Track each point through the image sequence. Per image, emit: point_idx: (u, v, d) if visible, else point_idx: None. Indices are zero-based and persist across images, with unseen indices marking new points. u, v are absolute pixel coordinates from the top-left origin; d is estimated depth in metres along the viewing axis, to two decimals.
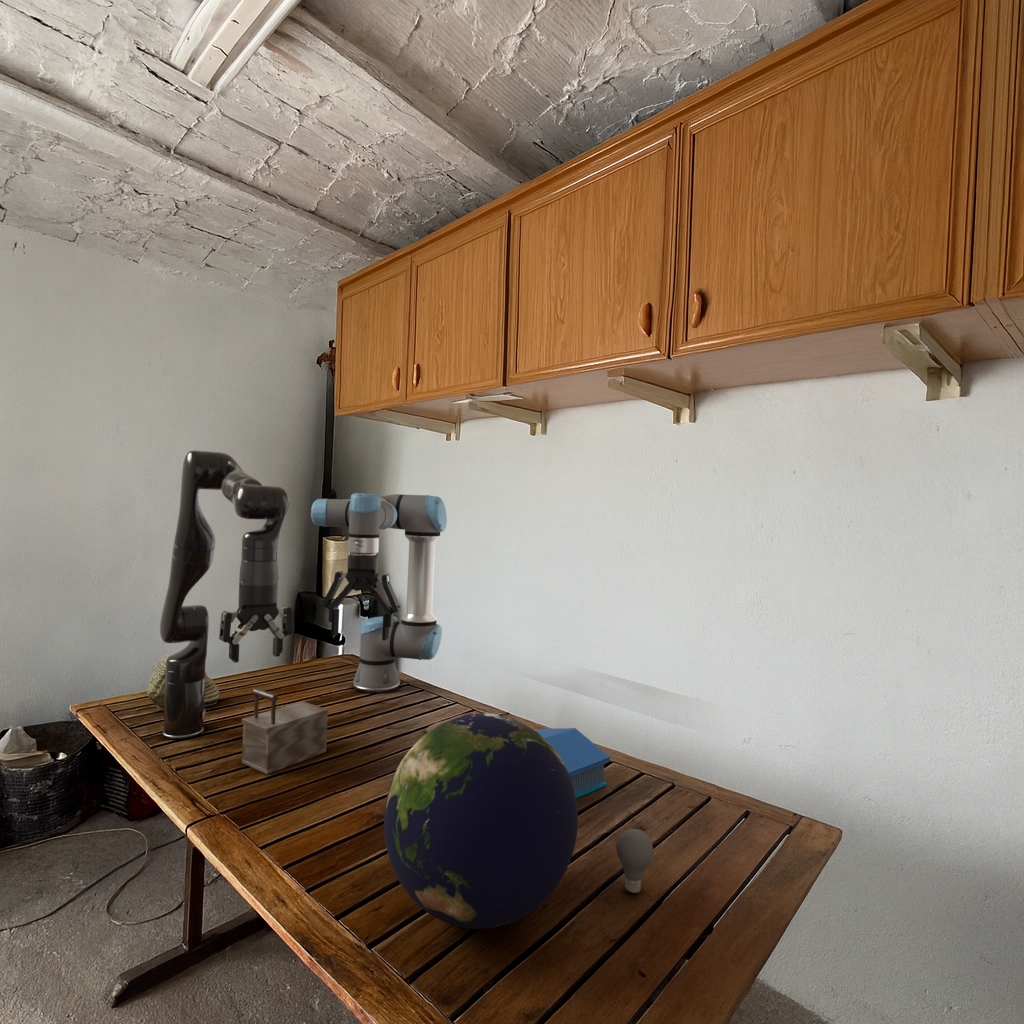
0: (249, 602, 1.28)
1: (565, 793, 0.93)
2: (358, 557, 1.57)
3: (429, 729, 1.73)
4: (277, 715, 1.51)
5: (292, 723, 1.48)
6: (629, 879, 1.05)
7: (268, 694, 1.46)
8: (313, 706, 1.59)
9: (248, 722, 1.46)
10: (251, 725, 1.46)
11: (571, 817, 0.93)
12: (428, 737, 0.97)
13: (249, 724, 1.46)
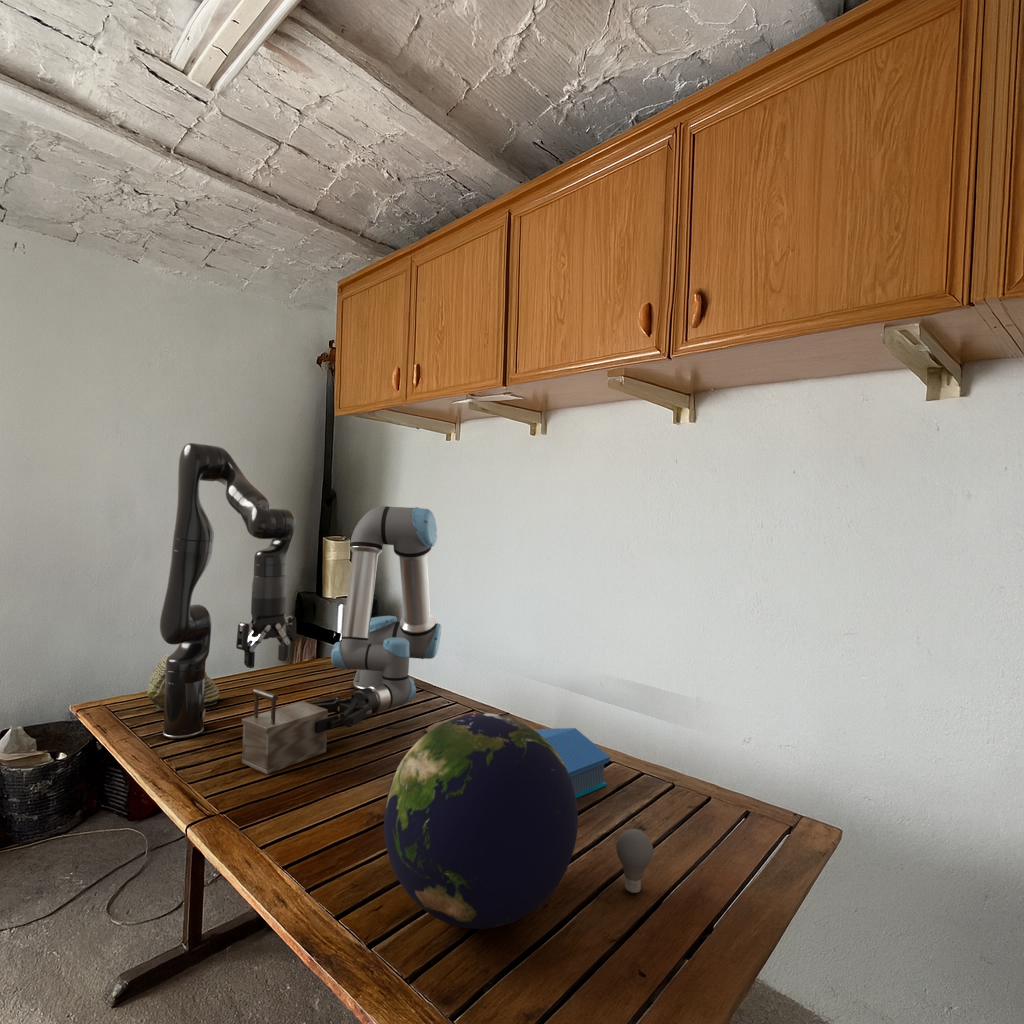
0: None
1: (565, 793, 0.93)
2: None
3: (429, 729, 1.73)
4: (277, 715, 1.51)
5: (292, 723, 1.48)
6: (629, 879, 1.05)
7: (268, 694, 1.46)
8: (313, 706, 1.59)
9: (248, 722, 1.46)
10: (251, 725, 1.46)
11: (571, 817, 0.93)
12: (428, 737, 0.97)
13: (249, 724, 1.46)
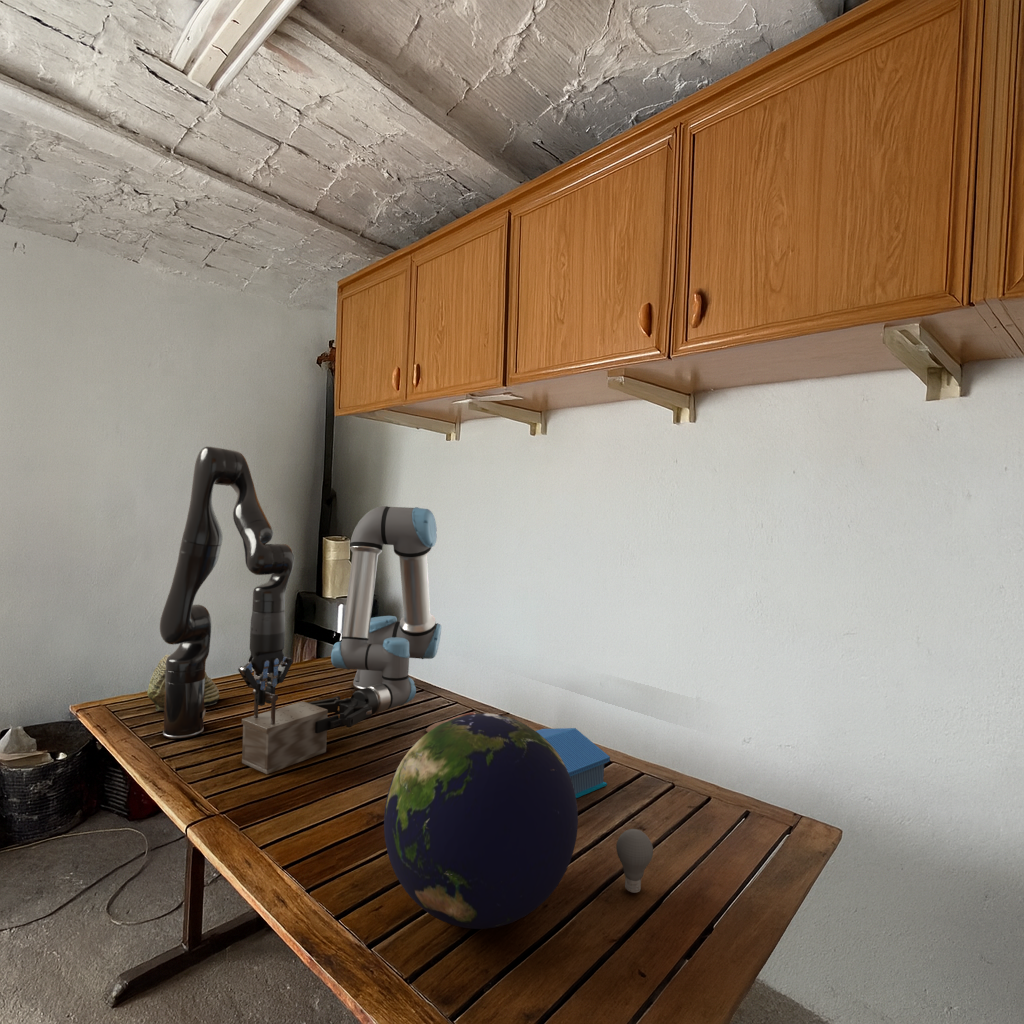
0: None
1: (565, 793, 0.93)
2: None
3: (429, 729, 1.73)
4: (277, 715, 1.51)
5: (292, 723, 1.48)
6: (629, 879, 1.05)
7: (268, 694, 1.46)
8: (313, 706, 1.59)
9: (248, 722, 1.46)
10: (251, 725, 1.46)
11: (571, 817, 0.93)
12: (428, 737, 0.97)
13: (249, 724, 1.46)
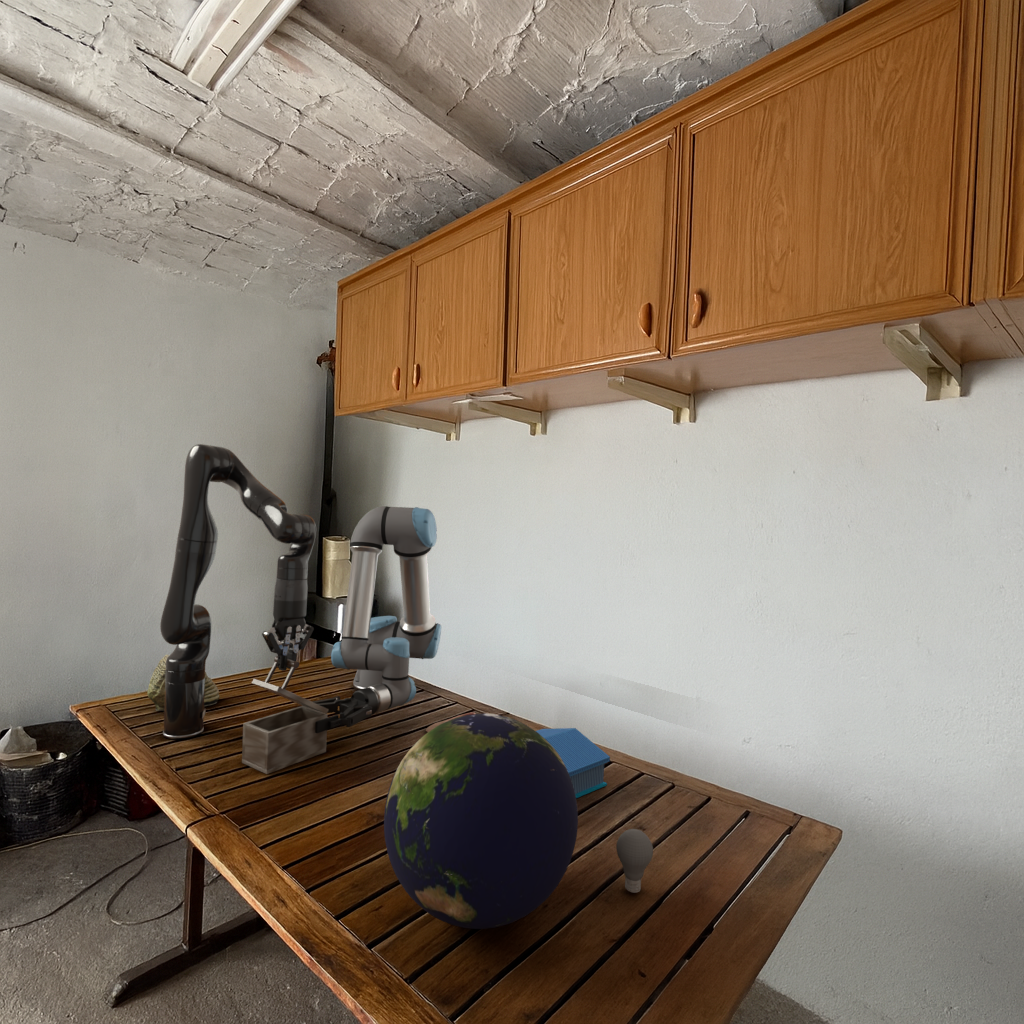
0: None
1: (565, 793, 0.93)
2: None
3: (429, 729, 1.73)
4: None
5: (298, 699, 1.49)
6: (629, 879, 1.05)
7: (291, 660, 1.51)
8: None
9: (260, 681, 1.49)
10: (262, 684, 1.48)
11: (571, 817, 0.93)
12: (428, 737, 0.97)
13: (260, 683, 1.48)
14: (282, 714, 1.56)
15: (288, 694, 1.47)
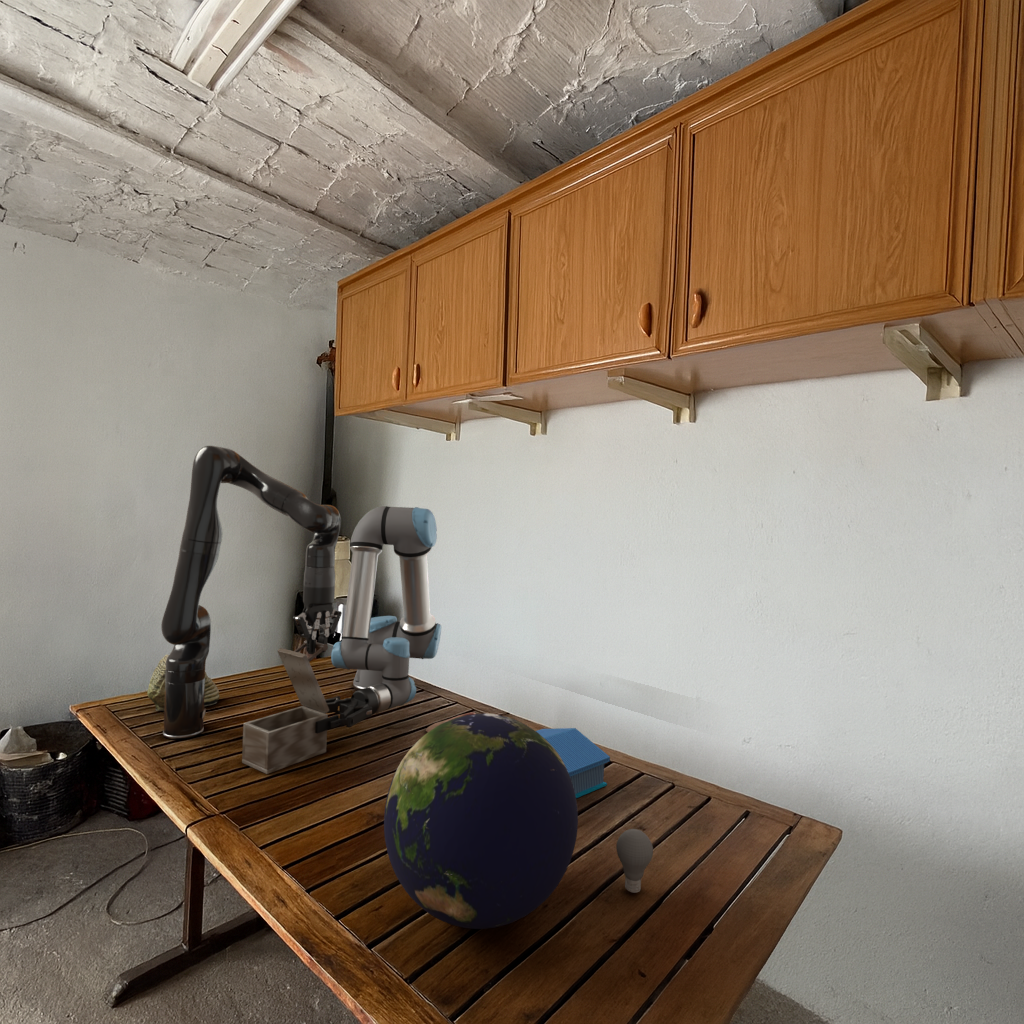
0: None
1: (565, 793, 0.93)
2: None
3: (429, 729, 1.73)
4: None
5: (313, 679, 1.53)
6: (629, 879, 1.05)
7: (321, 643, 1.58)
8: None
9: (287, 650, 1.54)
10: (288, 652, 1.53)
11: (571, 817, 0.93)
12: (428, 737, 0.97)
13: (286, 651, 1.54)
14: (282, 714, 1.56)
15: (309, 668, 1.51)
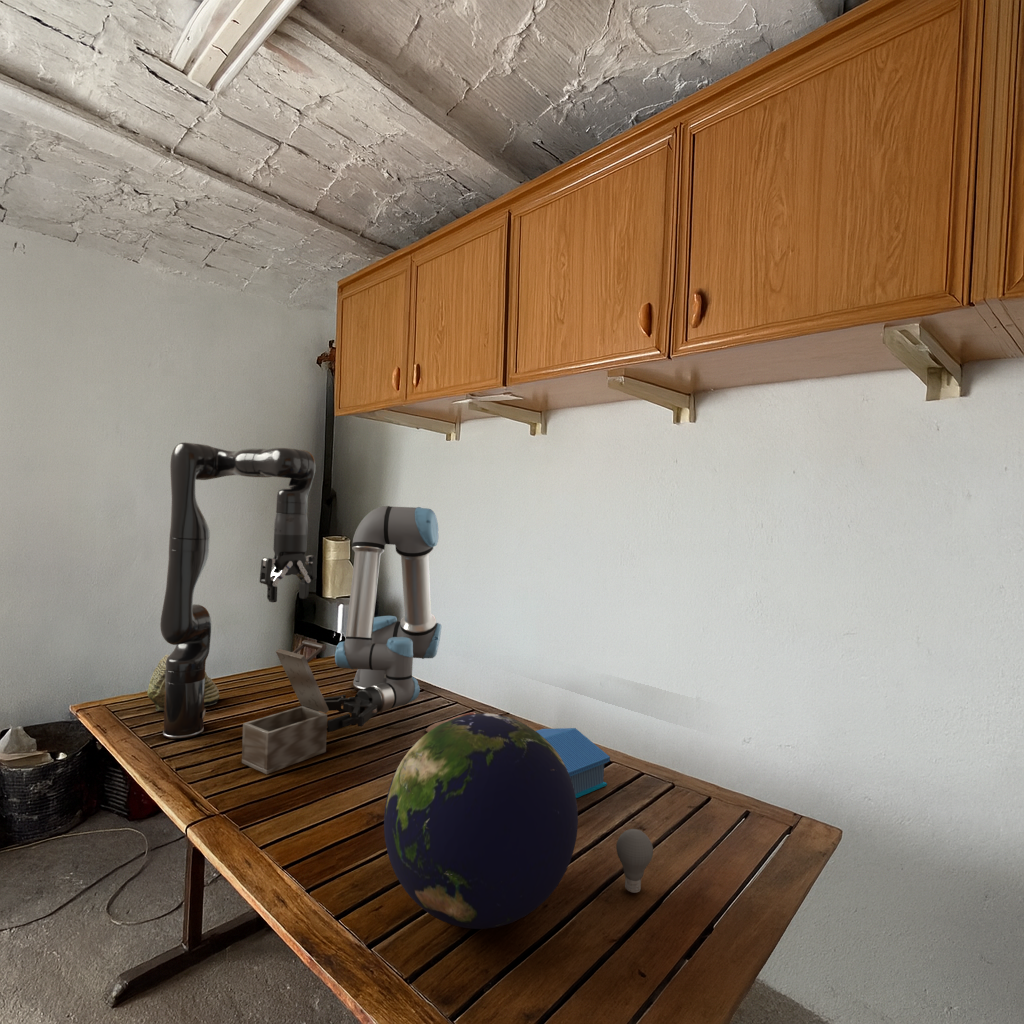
0: None
1: (565, 793, 0.93)
2: None
3: (429, 729, 1.73)
4: None
5: (312, 679, 1.52)
6: (629, 879, 1.05)
7: None
8: None
9: (285, 651, 1.54)
10: (287, 652, 1.53)
11: (571, 817, 0.93)
12: (428, 737, 0.97)
13: (285, 652, 1.53)
14: (282, 714, 1.56)
15: (307, 668, 1.51)
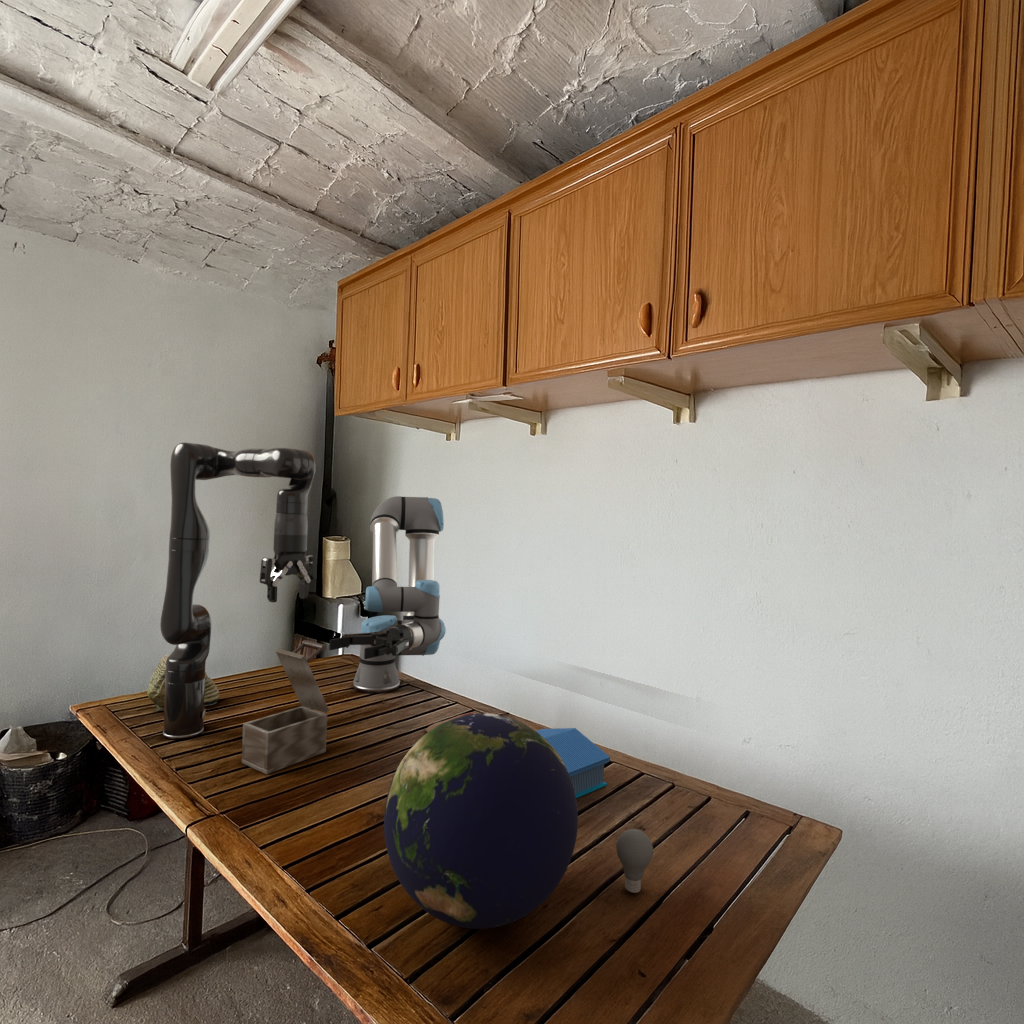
0: None
1: (565, 793, 0.93)
2: None
3: (429, 729, 1.73)
4: None
5: (312, 679, 1.52)
6: (629, 879, 1.05)
7: None
8: None
9: None
10: (287, 652, 1.53)
11: (571, 817, 0.93)
12: (428, 737, 0.97)
13: (285, 652, 1.53)
14: (282, 714, 1.56)
15: (307, 668, 1.51)
